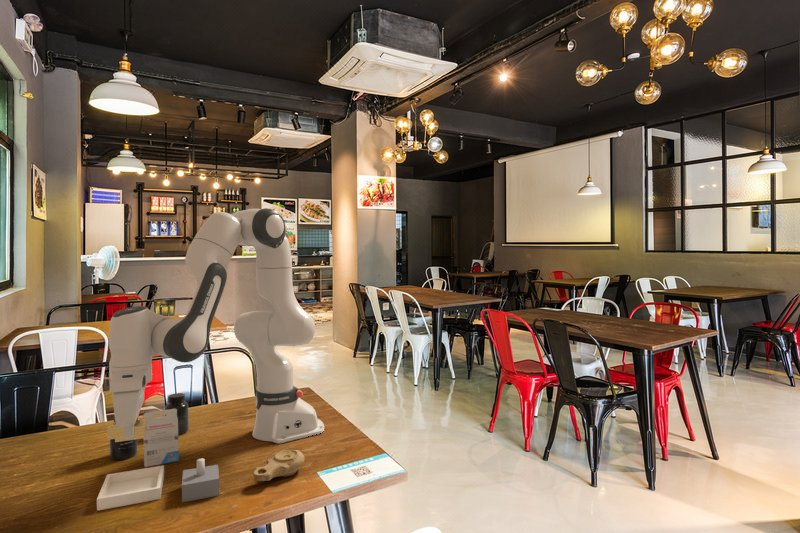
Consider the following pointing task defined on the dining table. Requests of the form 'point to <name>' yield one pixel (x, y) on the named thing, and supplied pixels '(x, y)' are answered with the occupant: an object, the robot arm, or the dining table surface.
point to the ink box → (161, 438)
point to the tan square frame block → (118, 432)
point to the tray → (131, 487)
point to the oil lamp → (280, 465)
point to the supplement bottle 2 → (179, 411)
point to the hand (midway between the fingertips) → (131, 432)
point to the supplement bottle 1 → (123, 448)
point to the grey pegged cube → (200, 482)
